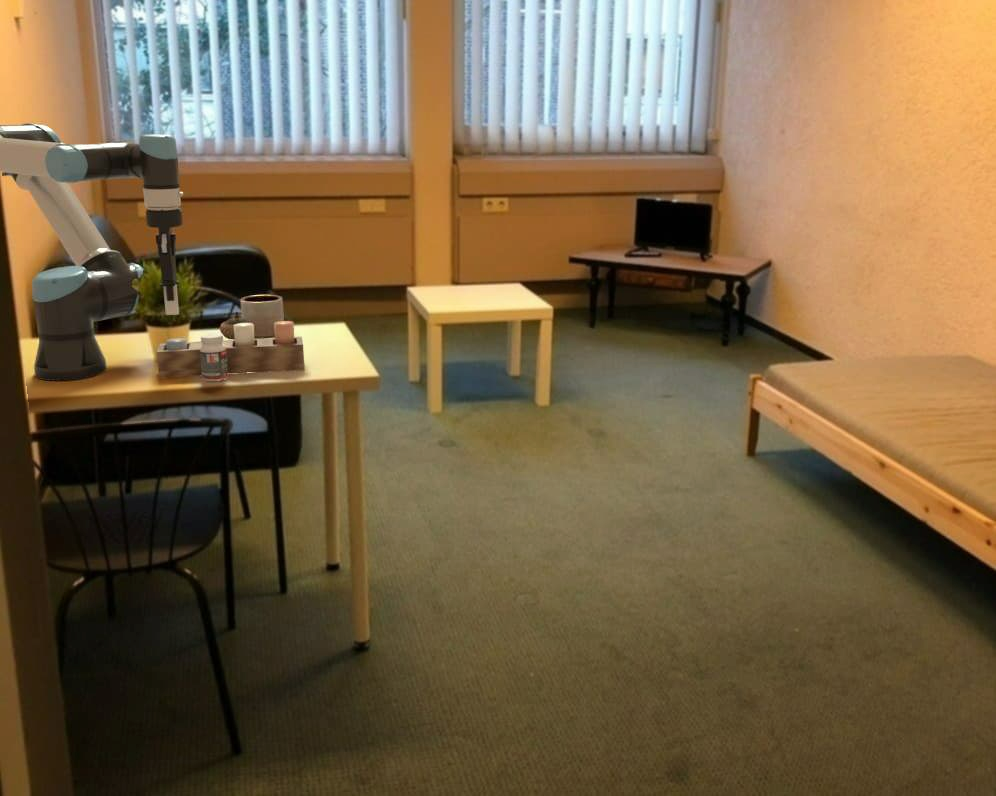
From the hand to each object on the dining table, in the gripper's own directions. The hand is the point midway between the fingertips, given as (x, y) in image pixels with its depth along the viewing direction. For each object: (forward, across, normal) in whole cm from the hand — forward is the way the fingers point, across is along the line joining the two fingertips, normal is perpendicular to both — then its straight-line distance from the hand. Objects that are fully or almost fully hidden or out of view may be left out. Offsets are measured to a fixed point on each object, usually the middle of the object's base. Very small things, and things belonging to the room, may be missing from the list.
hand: (172, 313), depth 226 cm
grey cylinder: (+12, 0, 0) cm, 12 cm away
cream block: (+9, 0, -15) cm, 18 cm away
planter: (+14, +35, -20) cm, 42 cm away
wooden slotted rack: (+13, 0, -12) cm, 18 cm away
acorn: (+14, +17, -14) cm, 26 cm away
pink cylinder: (+8, 0, -24) cm, 26 cm away
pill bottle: (+14, -8, -9) cm, 18 cm away
